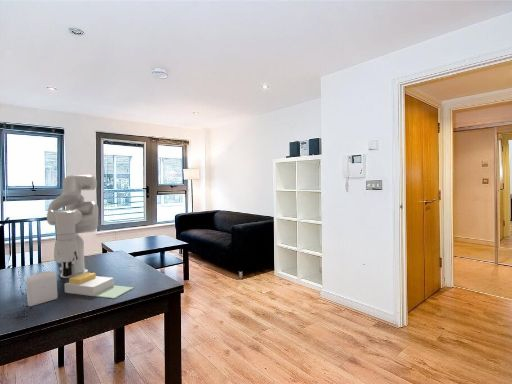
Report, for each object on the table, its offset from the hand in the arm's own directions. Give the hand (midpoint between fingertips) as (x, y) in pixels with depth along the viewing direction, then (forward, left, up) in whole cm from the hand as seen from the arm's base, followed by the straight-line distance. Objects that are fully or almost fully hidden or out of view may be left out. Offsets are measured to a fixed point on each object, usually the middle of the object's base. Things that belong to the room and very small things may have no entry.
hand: (67, 275), depth 135 cm
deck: (+13, 0, -6) cm, 14 cm away
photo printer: (+5, -16, -6) cm, 17 cm away
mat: (+26, 0, -6) cm, 27 cm away
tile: (+9, 0, -2) cm, 9 cm away
